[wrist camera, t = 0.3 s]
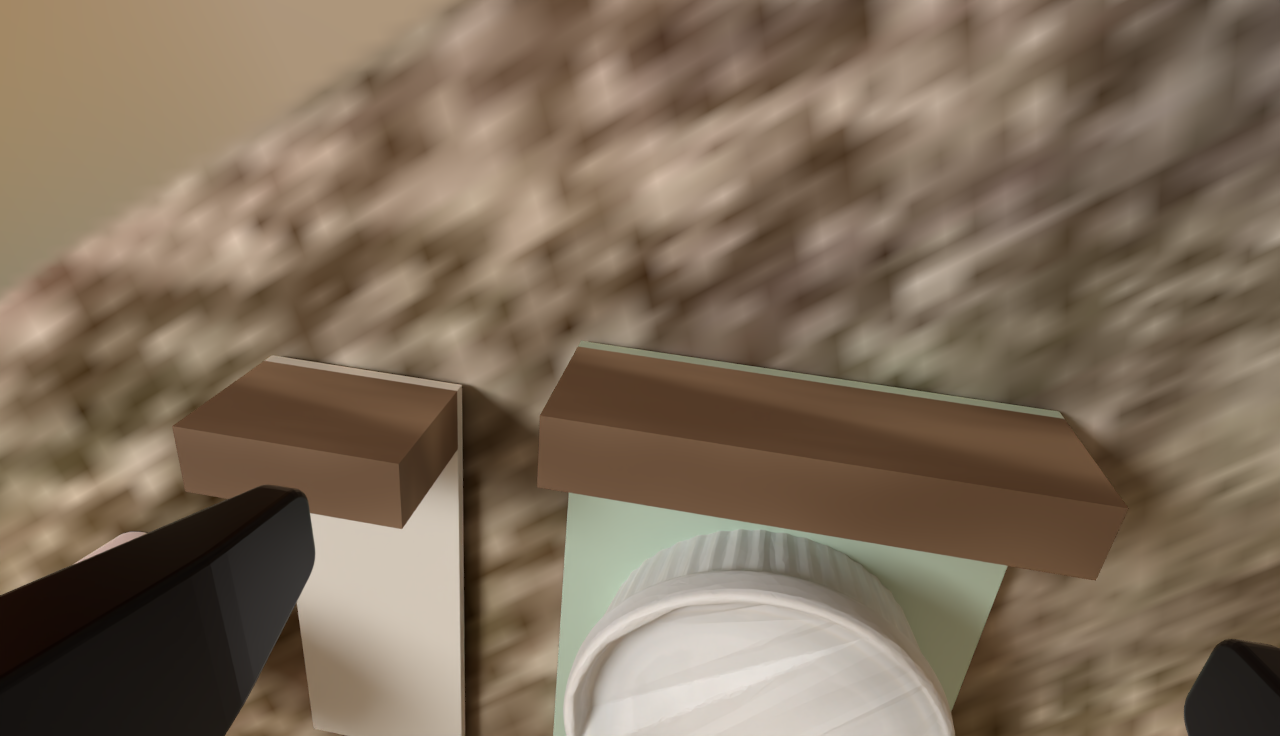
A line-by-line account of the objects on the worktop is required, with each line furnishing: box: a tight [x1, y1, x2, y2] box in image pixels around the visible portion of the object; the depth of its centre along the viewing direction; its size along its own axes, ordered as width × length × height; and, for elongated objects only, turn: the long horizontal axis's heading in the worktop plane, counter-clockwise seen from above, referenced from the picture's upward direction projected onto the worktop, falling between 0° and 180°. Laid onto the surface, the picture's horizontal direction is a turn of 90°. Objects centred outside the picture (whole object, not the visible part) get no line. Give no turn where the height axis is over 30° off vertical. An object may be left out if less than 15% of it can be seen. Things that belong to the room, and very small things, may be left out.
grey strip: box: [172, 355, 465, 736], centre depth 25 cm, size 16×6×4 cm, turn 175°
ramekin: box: [563, 529, 955, 736], centre depth 24 cm, size 11×11×5 cm
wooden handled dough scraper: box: [537, 341, 1129, 736], centre depth 23 cm, size 16×13×4 cm
